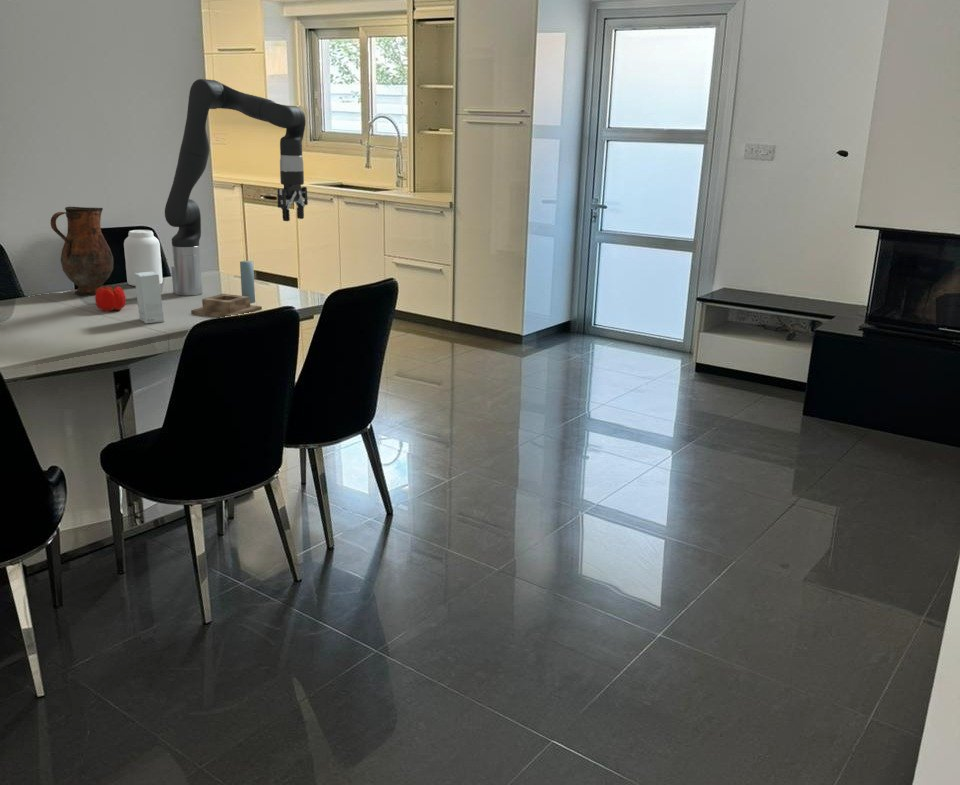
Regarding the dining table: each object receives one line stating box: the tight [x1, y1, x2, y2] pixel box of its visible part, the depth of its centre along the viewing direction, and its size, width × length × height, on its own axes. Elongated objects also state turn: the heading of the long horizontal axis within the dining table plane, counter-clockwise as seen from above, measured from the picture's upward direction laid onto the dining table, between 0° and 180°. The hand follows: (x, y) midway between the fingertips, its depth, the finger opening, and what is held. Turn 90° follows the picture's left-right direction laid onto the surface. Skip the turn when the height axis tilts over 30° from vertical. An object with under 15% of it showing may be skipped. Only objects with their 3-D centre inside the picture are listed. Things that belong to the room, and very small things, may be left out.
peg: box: [239, 260, 256, 304], centre depth 295 cm, size 4×4×14 cm
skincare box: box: [134, 272, 165, 324], centre depth 264 cm, size 8×6×15 cm
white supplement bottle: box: [123, 229, 164, 287], centre depth 320 cm, size 12×12×20 cm
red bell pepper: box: [94, 286, 126, 312], centre depth 278 cm, size 9×9×8 cm
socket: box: [190, 293, 263, 318], centre depth 282 cm, size 16×16×4 cm
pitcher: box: [50, 206, 114, 297], centre depth 297 cm, size 17×21×30 cm
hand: (293, 219), depth 285 cm, fingers open, 8 cm apart
